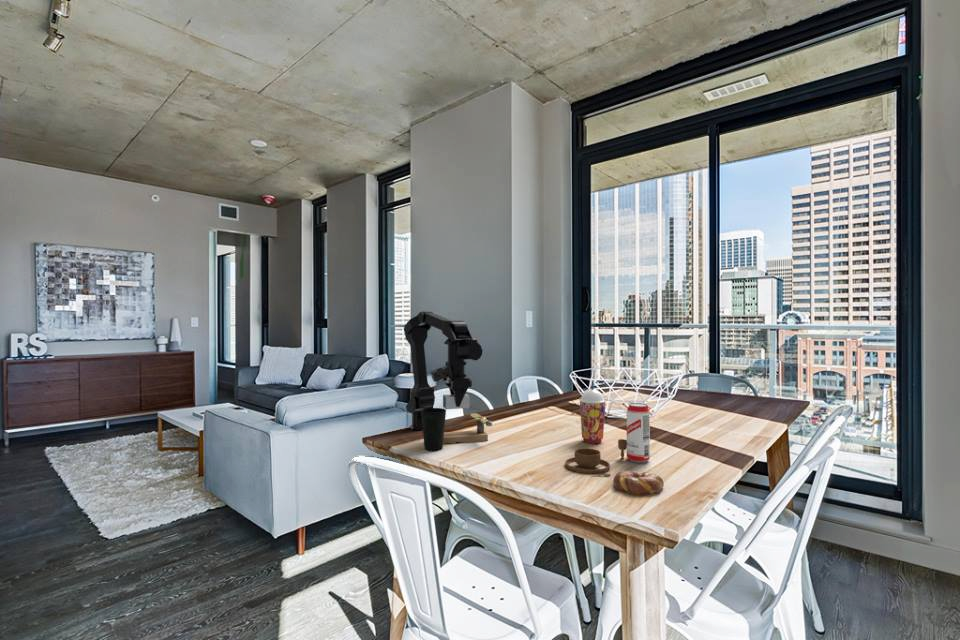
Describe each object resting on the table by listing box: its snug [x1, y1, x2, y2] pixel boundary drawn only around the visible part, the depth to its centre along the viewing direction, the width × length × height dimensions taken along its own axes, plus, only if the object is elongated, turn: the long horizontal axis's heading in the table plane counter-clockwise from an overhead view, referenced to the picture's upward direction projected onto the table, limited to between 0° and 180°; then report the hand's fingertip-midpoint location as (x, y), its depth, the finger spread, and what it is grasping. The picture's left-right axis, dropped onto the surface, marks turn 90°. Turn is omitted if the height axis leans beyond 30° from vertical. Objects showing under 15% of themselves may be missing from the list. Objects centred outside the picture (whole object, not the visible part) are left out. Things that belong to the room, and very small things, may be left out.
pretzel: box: [612, 470, 665, 496], centre depth 114 cm, size 12×11×4 cm
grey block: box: [442, 393, 471, 410], centre depth 158 cm, size 4×8×4 cm, turn 106°
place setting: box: [564, 438, 627, 478], centre depth 130 cm, size 18×20×6 cm
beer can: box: [626, 402, 651, 464], centre depth 136 cm, size 6×6×16 cm
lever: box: [470, 413, 493, 427], centre depth 160 cm, size 4×16×1 cm, turn 19°
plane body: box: [443, 420, 489, 445], centre depth 158 cm, size 7×17×6 cm, turn 106°
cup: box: [421, 407, 447, 452], centre depth 148 cm, size 8×8×12 cm
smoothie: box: [579, 380, 607, 444], centre depth 157 cm, size 8×8×20 cm
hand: (456, 405), depth 158 cm, fingers closed on grey block, 4 cm apart
